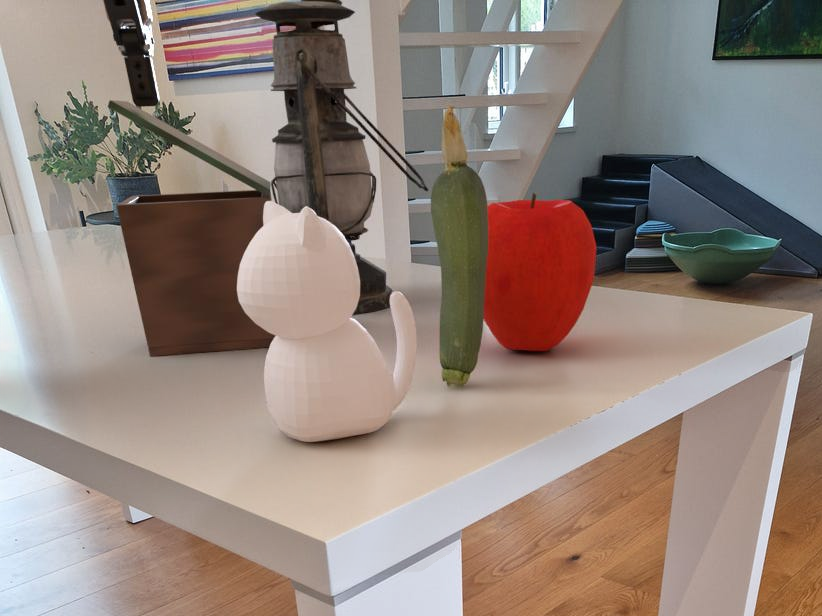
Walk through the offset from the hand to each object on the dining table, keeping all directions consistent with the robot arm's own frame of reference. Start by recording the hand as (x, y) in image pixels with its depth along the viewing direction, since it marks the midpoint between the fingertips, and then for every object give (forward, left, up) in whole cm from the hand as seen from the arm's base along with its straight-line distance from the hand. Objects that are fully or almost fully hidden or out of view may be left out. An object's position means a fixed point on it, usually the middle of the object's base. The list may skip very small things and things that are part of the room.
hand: (147, 105), depth 79 cm
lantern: (+18, +15, -21) cm, 31 cm away
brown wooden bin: (+3, 0, -21) cm, 21 cm away
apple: (+32, -15, -21) cm, 41 cm away
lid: (+3, 0, -4) cm, 5 cm away
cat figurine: (+13, -34, -21) cm, 42 cm away
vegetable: (+24, -25, -21) cm, 41 cm away
